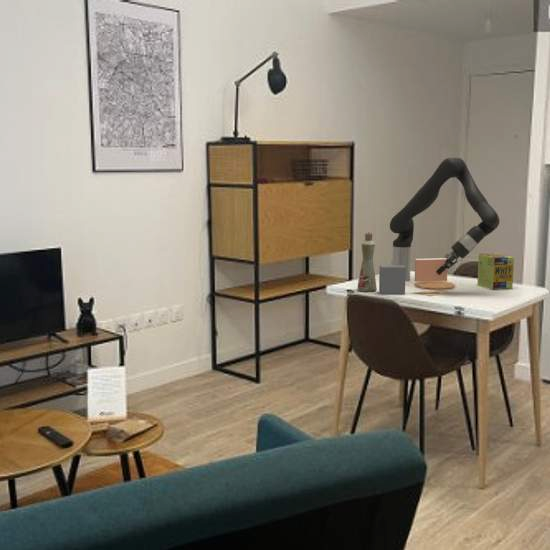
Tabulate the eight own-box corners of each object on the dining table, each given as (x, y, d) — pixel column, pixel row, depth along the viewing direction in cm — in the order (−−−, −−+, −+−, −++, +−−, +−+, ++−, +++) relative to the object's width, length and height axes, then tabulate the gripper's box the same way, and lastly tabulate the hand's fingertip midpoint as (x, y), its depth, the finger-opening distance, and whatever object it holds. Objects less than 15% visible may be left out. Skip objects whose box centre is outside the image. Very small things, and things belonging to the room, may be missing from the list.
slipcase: (380, 295, 308) (381, 267, 306) (379, 292, 315) (379, 265, 313) (405, 295, 308) (405, 267, 306) (402, 292, 314) (403, 265, 312)
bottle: (375, 293, 313) (377, 233, 308) (356, 292, 315) (357, 232, 311) (377, 290, 321) (378, 231, 317) (358, 289, 323) (359, 231, 319)
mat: (414, 293, 313) (414, 292, 313) (431, 291, 317) (431, 290, 317) (429, 296, 304) (429, 295, 304) (445, 294, 309) (446, 293, 309)
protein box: (492, 290, 319) (494, 257, 317) (477, 284, 334) (478, 253, 332) (513, 289, 321) (514, 257, 319) (496, 284, 336) (497, 253, 334)
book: (416, 281, 308) (416, 259, 307) (414, 280, 312) (414, 258, 310) (447, 280, 308) (447, 259, 306) (445, 279, 311) (445, 258, 310)
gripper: (454, 238, 314) (427, 264, 316) (462, 241, 300) (434, 269, 302) (465, 249, 314) (438, 276, 316) (474, 253, 300) (445, 281, 302)
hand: (436, 272), depth 309 cm, fingers closed on book, 3 cm apart
